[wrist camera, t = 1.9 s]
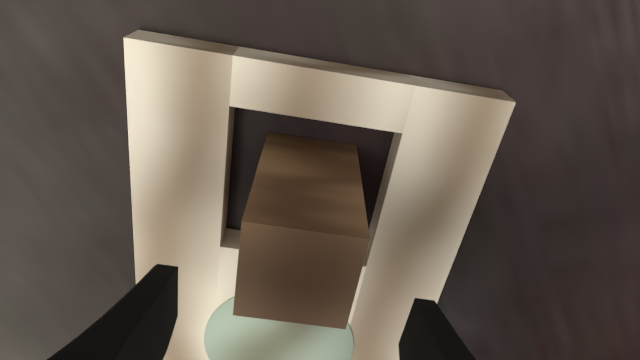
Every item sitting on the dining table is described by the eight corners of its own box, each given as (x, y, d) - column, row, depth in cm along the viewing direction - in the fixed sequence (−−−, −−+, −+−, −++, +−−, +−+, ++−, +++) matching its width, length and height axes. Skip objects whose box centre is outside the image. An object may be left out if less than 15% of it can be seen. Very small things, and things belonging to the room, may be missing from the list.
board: (502, 90, 19) (518, 104, 17) (389, 393, 28) (393, 418, 27) (138, 29, 18) (121, 38, 16) (149, 364, 27) (139, 389, 26)
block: (356, 145, 20) (370, 239, 14) (340, 218, 22) (345, 329, 16) (267, 131, 20) (241, 221, 14) (259, 206, 22) (232, 315, 16)
